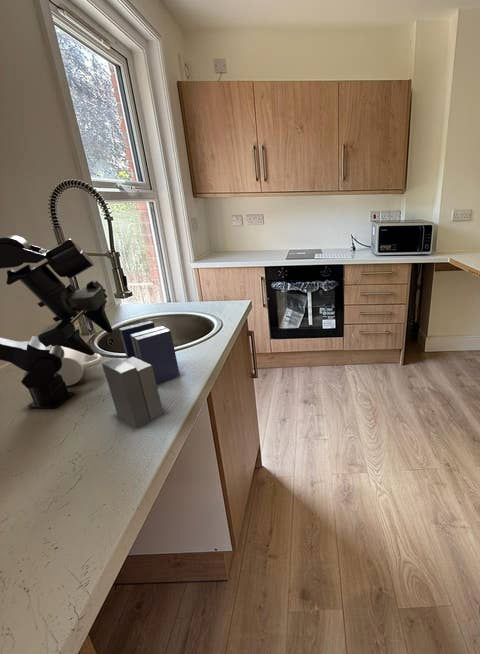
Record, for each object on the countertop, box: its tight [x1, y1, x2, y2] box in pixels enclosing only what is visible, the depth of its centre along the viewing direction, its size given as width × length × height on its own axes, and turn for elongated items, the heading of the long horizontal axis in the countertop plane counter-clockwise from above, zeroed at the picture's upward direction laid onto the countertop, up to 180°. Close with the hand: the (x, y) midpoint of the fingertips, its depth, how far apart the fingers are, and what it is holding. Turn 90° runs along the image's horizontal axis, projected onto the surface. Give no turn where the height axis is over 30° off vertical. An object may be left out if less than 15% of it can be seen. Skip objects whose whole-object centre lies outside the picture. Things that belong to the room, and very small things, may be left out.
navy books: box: [130, 325, 181, 385], centre depth 89 cm, size 8×5×13 cm, turn 135°
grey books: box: [101, 357, 164, 429], centre depth 74 cm, size 8×6×13 cm
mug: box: [57, 346, 103, 387], centre depth 92 cm, size 12×10×8 cm
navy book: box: [118, 320, 156, 359], centre depth 94 cm, size 8×2×13 cm, turn 134°
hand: (102, 342), depth 84 cm, fingers open, 9 cm apart
